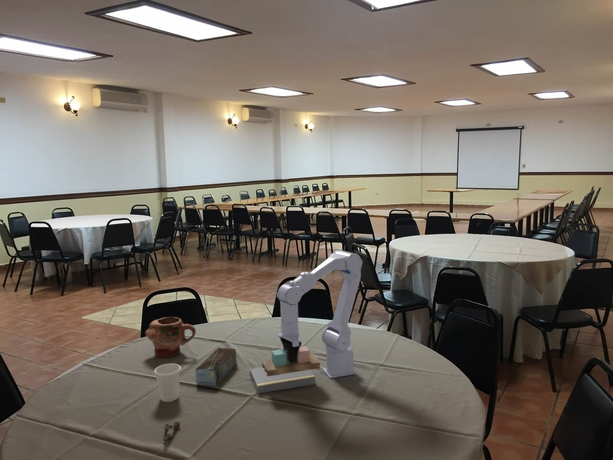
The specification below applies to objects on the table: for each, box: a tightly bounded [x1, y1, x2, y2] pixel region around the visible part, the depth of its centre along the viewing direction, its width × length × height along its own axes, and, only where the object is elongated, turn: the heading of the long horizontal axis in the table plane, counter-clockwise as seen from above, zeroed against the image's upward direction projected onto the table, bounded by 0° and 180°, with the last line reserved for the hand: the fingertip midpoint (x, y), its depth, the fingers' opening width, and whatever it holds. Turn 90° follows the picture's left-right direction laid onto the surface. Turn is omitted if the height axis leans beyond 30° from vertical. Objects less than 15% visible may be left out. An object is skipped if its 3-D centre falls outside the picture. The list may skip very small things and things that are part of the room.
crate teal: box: [271, 348, 287, 367], centre depth 163 cm, size 4×4×4 cm
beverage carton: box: [195, 347, 238, 387], centre depth 177 cm, size 8×19×7 cm, turn 166°
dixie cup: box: [153, 363, 182, 403], centre depth 160 cm, size 8×8×10 cm
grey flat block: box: [249, 366, 316, 394], centre depth 171 cm, size 20×14×3 cm
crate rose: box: [298, 345, 311, 363], centre depth 165 cm, size 4×4×4 cm
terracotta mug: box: [144, 316, 197, 359], centre depth 196 cm, size 20×12×14 cm, turn 95°
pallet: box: [261, 347, 321, 376], centre depth 164 cm, size 18×8×6 cm, turn 107°
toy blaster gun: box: [163, 421, 181, 442], centre depth 138 cm, size 2×8×4 cm, turn 169°
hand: (290, 359), depth 165 cm, fingers closed on pallet, 4 cm apart
